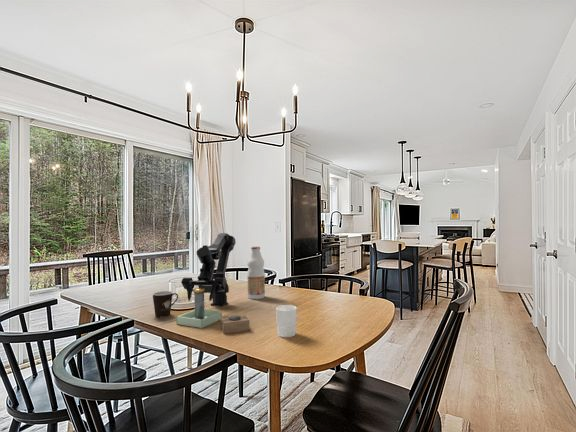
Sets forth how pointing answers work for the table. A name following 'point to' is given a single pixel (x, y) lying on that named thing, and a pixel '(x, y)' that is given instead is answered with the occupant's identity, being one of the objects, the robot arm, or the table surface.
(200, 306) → the grey metal cylinder
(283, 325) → the white cup
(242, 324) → the block
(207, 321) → the green tray
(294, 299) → the table surface
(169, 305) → the coffee mug
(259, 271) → the fruit juice
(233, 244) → the robot arm
